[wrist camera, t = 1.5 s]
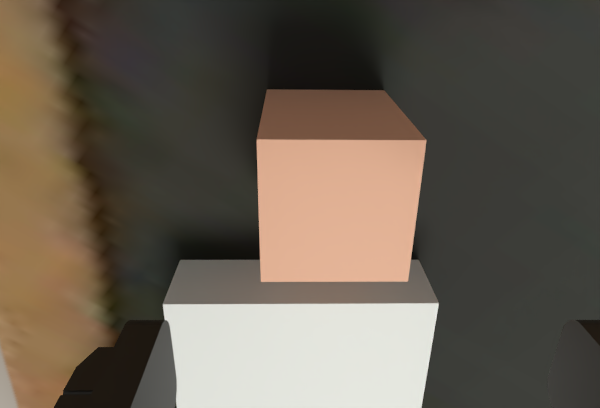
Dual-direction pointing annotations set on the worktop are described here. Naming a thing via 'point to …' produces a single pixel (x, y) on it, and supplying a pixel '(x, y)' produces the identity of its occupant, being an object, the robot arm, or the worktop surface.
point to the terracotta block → (337, 186)
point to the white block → (297, 339)
